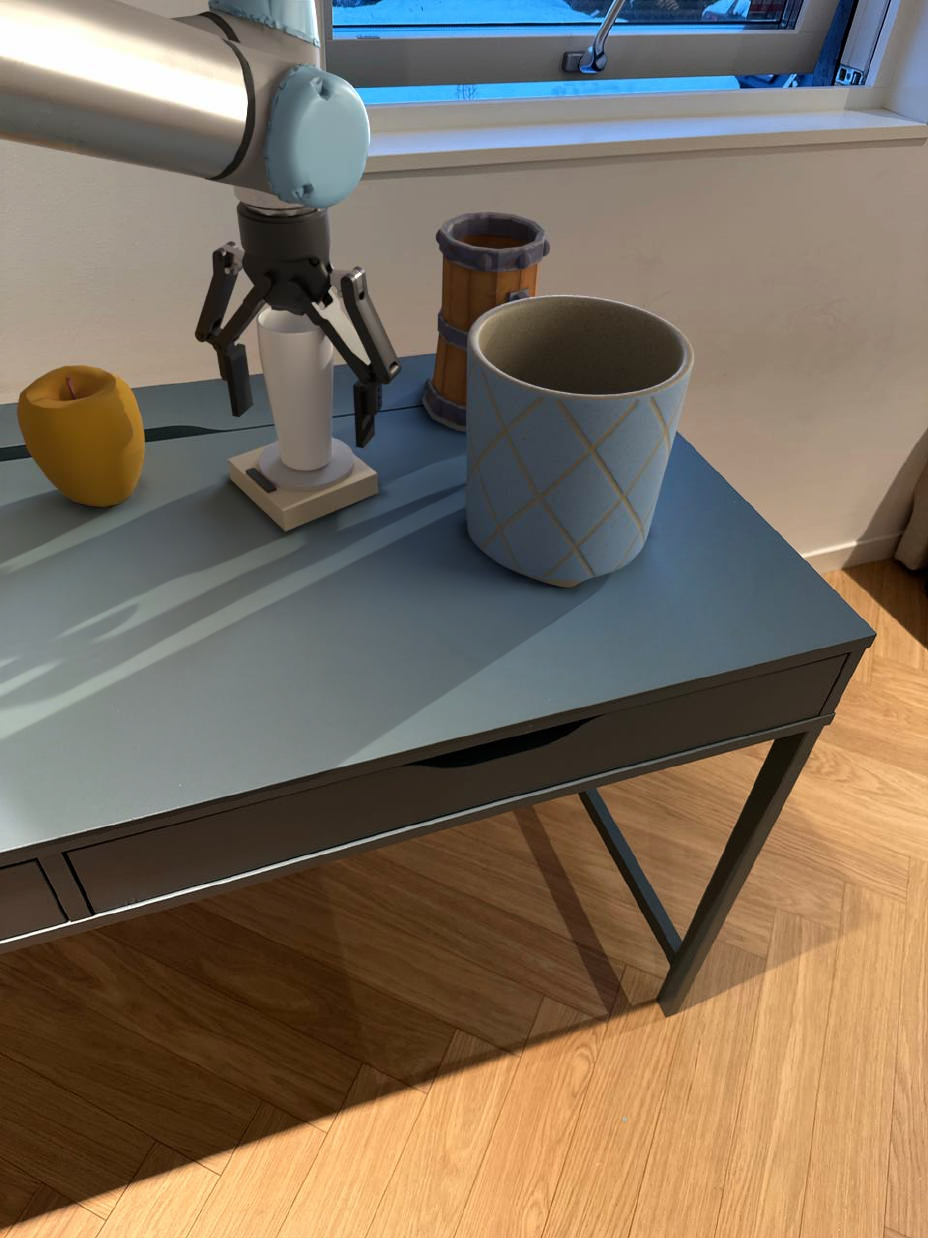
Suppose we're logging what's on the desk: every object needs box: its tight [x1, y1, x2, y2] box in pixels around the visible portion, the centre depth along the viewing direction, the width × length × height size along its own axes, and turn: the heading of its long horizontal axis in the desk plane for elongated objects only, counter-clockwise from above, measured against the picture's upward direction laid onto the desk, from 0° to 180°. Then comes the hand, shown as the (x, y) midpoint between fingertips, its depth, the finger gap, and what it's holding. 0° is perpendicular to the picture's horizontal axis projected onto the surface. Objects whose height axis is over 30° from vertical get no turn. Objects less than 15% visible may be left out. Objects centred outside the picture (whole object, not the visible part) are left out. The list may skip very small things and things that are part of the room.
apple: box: [16, 364, 146, 508], centre depth 87 cm, size 11×11×13 cm
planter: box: [465, 294, 695, 589], centre depth 83 cm, size 19×19×20 cm
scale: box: [227, 436, 379, 532], centre depth 93 cm, size 11×11×3 cm
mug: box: [421, 211, 551, 433], centre depth 99 cm, size 19×14×20 cm
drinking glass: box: [256, 306, 335, 471], centre depth 87 cm, size 7×7×15 cm
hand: (303, 425), depth 89 cm, fingers open, 13 cm apart
